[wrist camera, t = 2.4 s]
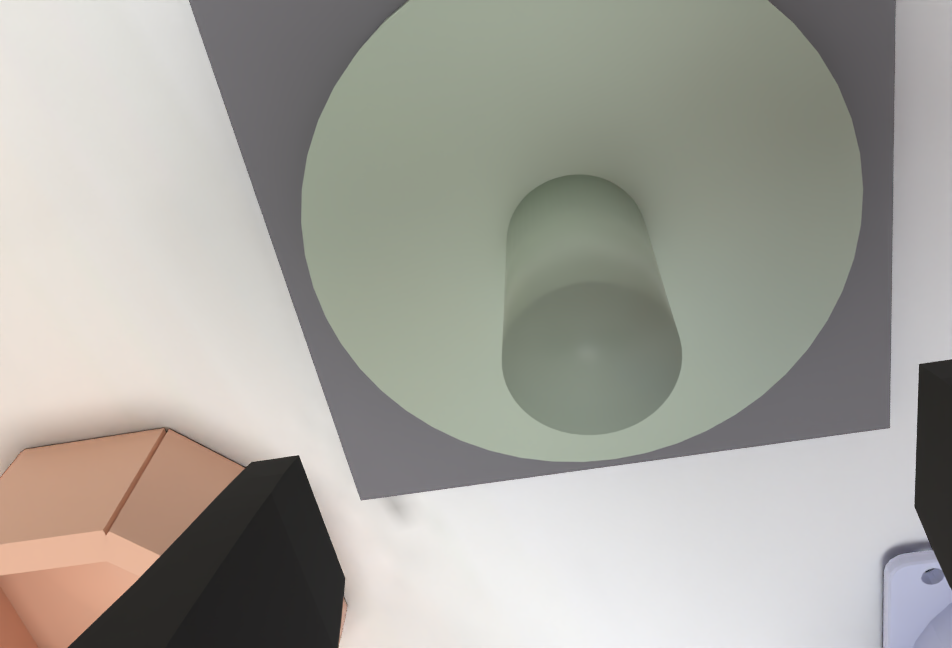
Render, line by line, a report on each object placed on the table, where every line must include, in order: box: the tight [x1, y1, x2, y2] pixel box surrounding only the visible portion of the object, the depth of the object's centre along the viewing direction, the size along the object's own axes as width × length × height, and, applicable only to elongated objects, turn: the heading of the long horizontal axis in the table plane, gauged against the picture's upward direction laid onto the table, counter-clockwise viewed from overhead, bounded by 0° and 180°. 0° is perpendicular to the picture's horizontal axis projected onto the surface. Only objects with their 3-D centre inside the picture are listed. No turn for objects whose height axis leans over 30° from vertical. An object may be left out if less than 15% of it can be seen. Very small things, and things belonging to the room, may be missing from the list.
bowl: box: [0, 428, 347, 648], centre depth 22 cm, size 9×9×4 cm
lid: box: [301, 0, 863, 462], centre depth 15 cm, size 10×10×5 cm
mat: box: [189, 0, 895, 500], centre depth 18 cm, size 12×12×1 cm
